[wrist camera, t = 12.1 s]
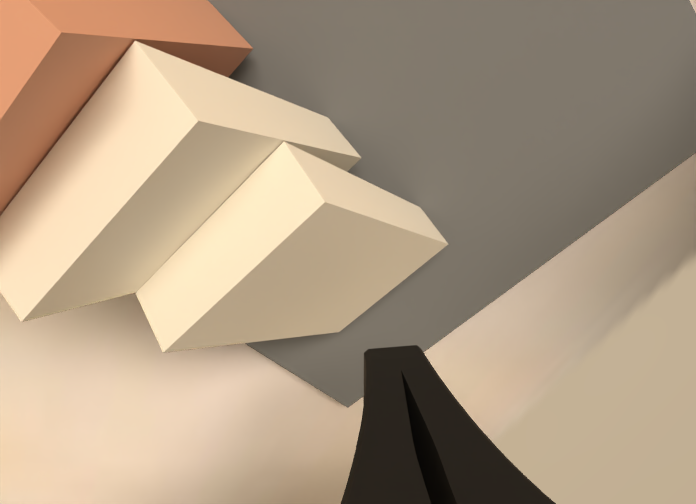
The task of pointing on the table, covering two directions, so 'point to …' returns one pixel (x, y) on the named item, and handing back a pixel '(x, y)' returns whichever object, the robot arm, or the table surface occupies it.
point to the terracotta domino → (87, 63)
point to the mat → (476, 135)
